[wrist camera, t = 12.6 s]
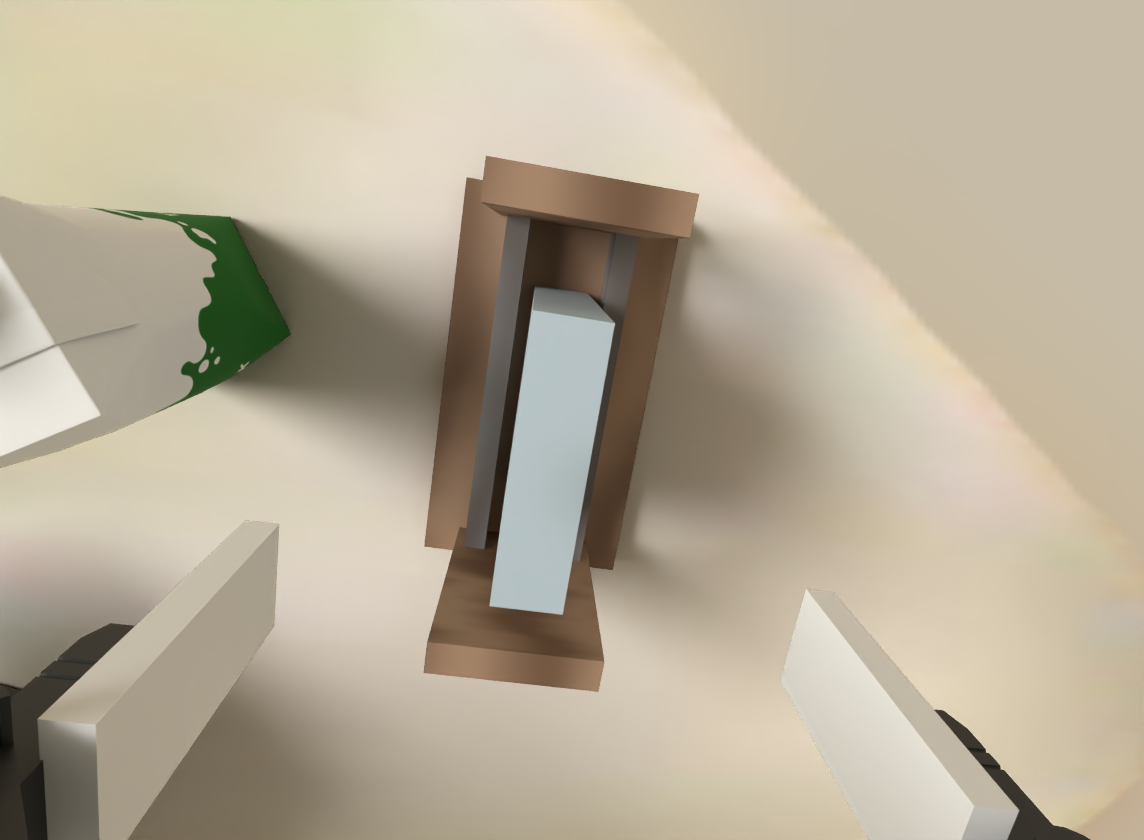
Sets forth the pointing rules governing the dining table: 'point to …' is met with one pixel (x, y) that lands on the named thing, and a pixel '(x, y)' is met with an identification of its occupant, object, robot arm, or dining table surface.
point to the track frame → (491, 391)
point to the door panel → (551, 449)
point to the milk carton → (118, 319)
